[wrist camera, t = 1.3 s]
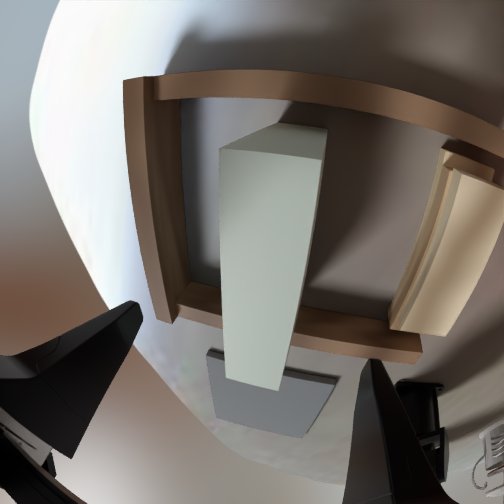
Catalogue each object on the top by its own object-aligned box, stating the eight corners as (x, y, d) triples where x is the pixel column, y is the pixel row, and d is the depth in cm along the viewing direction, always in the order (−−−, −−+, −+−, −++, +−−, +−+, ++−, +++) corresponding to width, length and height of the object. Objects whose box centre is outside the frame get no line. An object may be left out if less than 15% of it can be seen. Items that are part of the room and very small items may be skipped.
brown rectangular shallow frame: (488, 127, 11) (522, 139, 7) (410, 337, 20) (415, 373, 17) (161, 79, 15) (122, 80, 12) (178, 290, 25) (156, 319, 22)
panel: (327, 129, 14) (321, 160, 7) (302, 290, 21) (278, 391, 14) (277, 122, 15) (219, 148, 8) (265, 282, 22) (225, 377, 14)
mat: (335, 379, 26) (334, 385, 25) (303, 434, 35) (302, 438, 35) (208, 350, 29) (205, 355, 28) (217, 413, 38) (216, 417, 38)
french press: (516, 425, 24) (517, 526, 4) (469, 445, 30) (462, 547, 10) (525, 407, 21) (531, 525, 1) (472, 431, 27) (466, 552, 7)
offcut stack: (488, 165, 12) (515, 182, 9) (429, 315, 19) (437, 347, 16) (438, 146, 13) (461, 160, 10) (386, 308, 20) (390, 341, 17)
